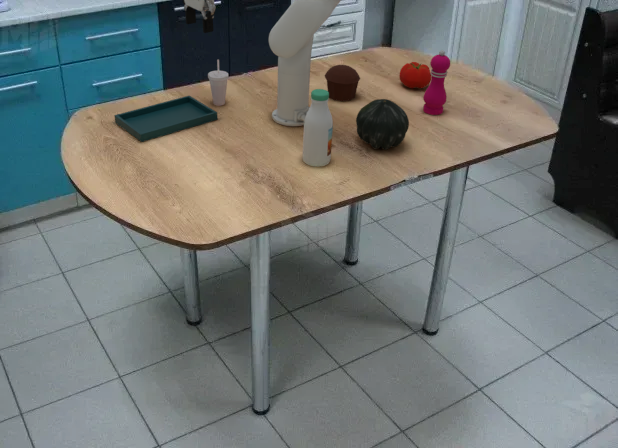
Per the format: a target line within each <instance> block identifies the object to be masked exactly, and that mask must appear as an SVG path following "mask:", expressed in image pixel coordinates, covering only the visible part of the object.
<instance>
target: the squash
mask: <svg viewBox="0 0 618 448" xmlns="http://www.w3.org/2000/svg"><path fill="white" fill-rule="evenodd" d="M355 123H356V134H357V136H358V137H359V139H360V140H362V142H364V143H365V144H367V145H370V146H371V147H372V149H374V150H378V149H380V148H381V149H382V150H385V151H386V150H388V149H390V148H394V147H397V146H400V144H402V143H403V142H404V141H405V138H406V134H407V132H408V130H409V126H410V121H409V117H408V114H407V113H406V111H405V110H404V109H403V108H402V107H401V106H400V105H398V104H397V103H396V102H394V101H392V100H391V99H387V98H378V99H374V100H372V101H370V102H368V103H367V104H366V105H363V107H361V108H360V110H358V113H357V115H356V118H355Z"/></svg>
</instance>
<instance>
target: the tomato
mask: <svg viewBox="0 0 618 448" xmlns="http://www.w3.org/2000/svg"><path fill="white" fill-rule="evenodd" d="M431 79H432V75H431V69H430V67H429V65H428V64H427V65H426V64H425V63H419V62H417V61H411V62H409V63H408V62H407V63H405V64H404V65H403V66H402V67H401V68H400V71H399V81H400V83H402V84H403V85H404V86H405V87H407V88H409V89H415V88H416V89H423V88H427V87H428V86H429V85H430V83H431Z"/></svg>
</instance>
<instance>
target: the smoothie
mask: <svg viewBox="0 0 618 448" xmlns="http://www.w3.org/2000/svg"><path fill="white" fill-rule="evenodd" d="M216 62H217V65H216V67H217V70H212V71H209V72H208V73H207V78H208V80H209V85H210V91H211V98H212V103H213V105H214V106H217V107H218V106H219V107H221V106H225V104H226V97H227V89H228V80H229V73H228V72H227V71H225V70H220V59H217V60H216Z"/></svg>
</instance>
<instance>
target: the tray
mask: <svg viewBox="0 0 618 448" xmlns="http://www.w3.org/2000/svg"><path fill="white" fill-rule="evenodd" d="M113 117H114V123H115V124H116V125H118V127H121V128H122V129H123V130H124V131H126V132H127V133H128V134H129V135H131V136H132V137H134V139H137V140H138V141H139V142H140V143H144V142H147V141H149V140H153V139H157V138H160V137H163V136H167V135H170V134H173V133H177V132H180V131H184V130H187V129H190V128H194V127H198V126H201V125H204V124H207V123H210V122H214V121H217V120H218V118H219V117H218V112H217V110H215V109H213V108H211V107H210V106H207V105H206V104H204V103H203V102H201V101H199V100H198V99H197V98H195V97H193V96H191V95H186V96H181V97H178V98H174V99H170V100H167V101H163V102H159V103H156V104H151V105H147V106H143V107H141V108H136V109H132V110H129V111H125V112H121V113H117V114H114V116H113Z"/></svg>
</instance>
